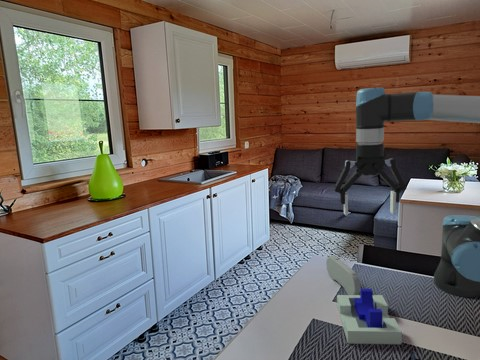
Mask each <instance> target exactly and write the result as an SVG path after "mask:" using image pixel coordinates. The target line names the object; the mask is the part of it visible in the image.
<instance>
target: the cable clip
mask: <svg viewBox="0 0 480 360" xmlns="http://www.w3.org/2000/svg"><path fill="white" fill-rule="evenodd" d="M359 295H360V298H355V309H356V312H357V315H358V317H359V319H365V321H366V324H367V327H368V328H382V310H381V309H374V304H373V295H374V294H373V290H372V288H361V289H360V294H359Z"/></svg>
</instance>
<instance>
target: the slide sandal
mask: <svg viewBox="0 0 480 360" xmlns="http://www.w3.org/2000/svg"><path fill="white" fill-rule="evenodd" d="M325 265H326V271H327V273H328V276H329V277H330V279H331V280H333V281H336V282H337V283H338V284H339V285H340V286H342V288H343V289H344V290H345V292H346V295H360V289H362V287H361V281H360V278H359V276H358V274H357V273H356V271H355V270H353V269H352V268H351V267H350V266H348V265H347V264H346V263H345V262H344V261H342V259H340V258H339V257H337V256H336V255H334V254H333V255H332V254H331V255H330V256H328V257H327V259H326V264H325Z"/></svg>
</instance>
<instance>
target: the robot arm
mask: <svg viewBox="0 0 480 360" xmlns="http://www.w3.org/2000/svg"><path fill="white" fill-rule="evenodd" d="M385 90H386V89H385V88H384V87H369V88H368V87H367V88H361V89H359V90H357V92H356V100H355V101H356V102H355V103H356V105H355V117H356V118H355V121H356V122H355V127H356V128H355V130H356V132H355V135H356V136H355V138H356V139H355V142H356V143H357V144H356V146H355V160H348V159H346V160H344V167H343V169H342V171H341V173H340V174H339V177H338V179H337V181H336V183H335V185H334V187H333V190H334V192H335V193H339V201H340V204H341V205H343V214H344V216H345V217H346V216H349V204H348V203H349V194H348V190H349V189H350V188H351V187H352V186H353V185H354V183H356V181H358V179H359V178H361V177H362V175H363V176H370V175H371V176H376V175H379V176H380V177H381V178H382V179H383V180H384V181H385V182H386V183H387V184H388V186H390V188H391V189H392V190H390V193H389V195H390V197H389V198H390V199H389V200H390V201H389V202H390V205H389V206H390V207H389V212H390V213H391V215H396V210H397V208H396V207H397V206H396V205H397V203H399V202H400V194H401V192H402V191H405V190H407V186H406V183H405V181H404V180H403V178H402V176H401V174H400V171H399V170H398V168H397V165H396V159H394V158H392V157H389V158H388V159H385V158H384V156H385V155H384V153H385V152H384V150H385V148H384V143H383V142H384V140H385V122H406V121H407V122H408V121H409V122H410V121H412V122H413V121H417V122H420V121H425V120H427V121H437V122H439V121H440V122H454V123H455V122H456V123H469V124H470V123H472V124H480V95H457V94H456V95H454V94H451V95H450V94H433V93H432V92H431V91H417V92H416V91H415V92H413V91H412V92H402V93H390V94H388V93H386V91H385ZM385 165H386V166H387V167H388V168H389V169H390V171H391V173H392V175H393V176H394V179H395V181H396V183H397V184H398V185H397V184H396V183H395V182H393V180H392V179H391V178H390V177H389V176H388V175H387V174H386V172H385V171H384V170H383V168H384V166H385ZM354 166H355V168H356V169H355V171H354V172H353V174H352V175H351V176H350V177H349V178H348V179H347V180H346V182H345V179H346V178H347V176H348V174H349V173H350V169H353V167H354ZM344 182H345V183H344ZM441 226H442V232H441V233H442V235H441V237H442V238H441V257H440V261H439V263H438V265H437V268H436V270H435V272H434V274H433V283H434V285H435V286H436V287H437V288H439V289H440V290H441V291H443V292H446V293H448V294H451V295H455V296H458V297H464V298H480V216H475V215H469V214H468V215H467V214H466V215H465V214H464V215H463V214H452V215H451V214H450V215H446V216H445V217H443V221H442V224H441Z"/></svg>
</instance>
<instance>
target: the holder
mask: <svg viewBox="0 0 480 360" xmlns="http://www.w3.org/2000/svg"><path fill="white" fill-rule="evenodd" d="M336 295H337V296H336V306H337V309H338V314H339V317H340V320H341V325H342V329H343V331H344V334H345V337H346V342H347V344H356V345H357V344H359V345H360V344H361V345H362V344H363V345H365V344H366V345H368V344H369V345H370V344H371V345H402V337H403V336H402V335H403V332H402V330H401V328H400V326H399V323H398V322H397V320H396V318H394V317H391V318H390V316H389V311H388V310H389V306H388V303H387V302H386V300H385V298H384V296H383V295H382V294H373V304H374V309H381V310H382V328H368V327H367V324H366V321H365V319H359V317H358V315H357V312H356V309H355V298H360V294H359V295H348V294H336Z"/></svg>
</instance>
